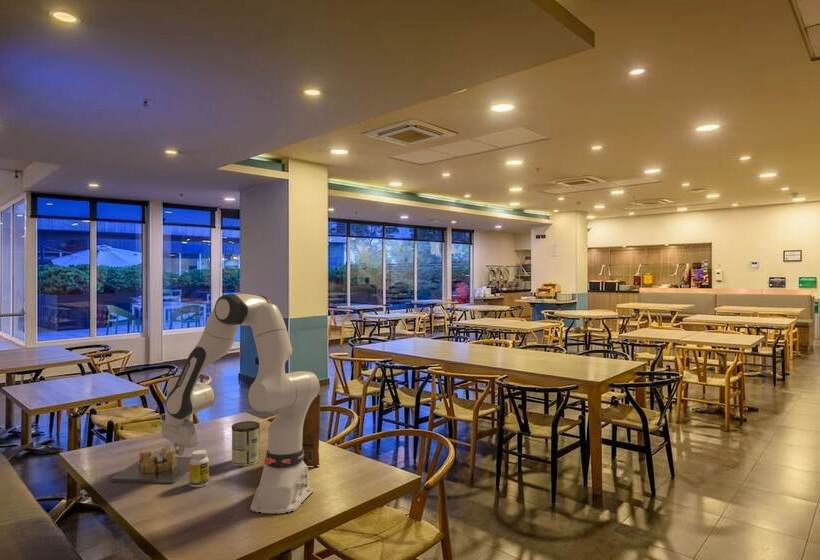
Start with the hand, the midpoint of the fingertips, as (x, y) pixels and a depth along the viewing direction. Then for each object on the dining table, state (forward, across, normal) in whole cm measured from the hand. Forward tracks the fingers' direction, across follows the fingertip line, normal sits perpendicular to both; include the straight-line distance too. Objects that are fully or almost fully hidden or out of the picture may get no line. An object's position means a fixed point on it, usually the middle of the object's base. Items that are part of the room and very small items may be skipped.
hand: (179, 454), depth 189 cm
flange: (+4, +2, +7) cm, 8 cm away
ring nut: (+3, +2, +6) cm, 7 cm away
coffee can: (+5, -15, -18) cm, 24 cm away
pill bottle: (+5, -21, +4) cm, 22 cm away
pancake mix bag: (+5, -33, -31) cm, 45 cm away
